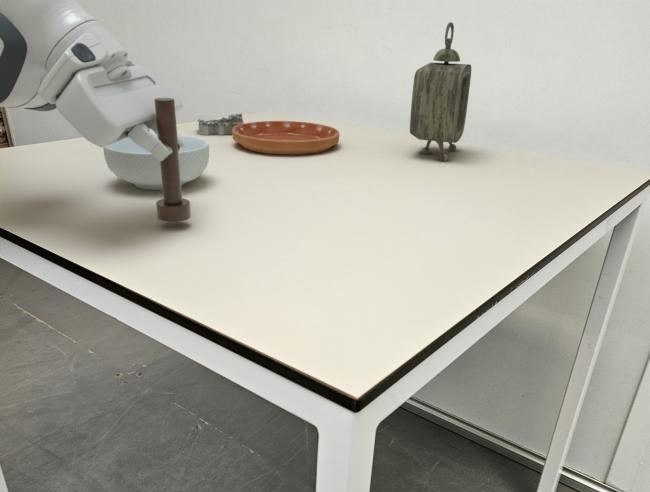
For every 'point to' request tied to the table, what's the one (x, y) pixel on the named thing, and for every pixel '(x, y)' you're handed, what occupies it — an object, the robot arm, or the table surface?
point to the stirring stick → (170, 165)
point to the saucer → (285, 137)
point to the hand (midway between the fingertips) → (173, 153)
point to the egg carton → (220, 125)
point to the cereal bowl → (155, 162)
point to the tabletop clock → (440, 99)
